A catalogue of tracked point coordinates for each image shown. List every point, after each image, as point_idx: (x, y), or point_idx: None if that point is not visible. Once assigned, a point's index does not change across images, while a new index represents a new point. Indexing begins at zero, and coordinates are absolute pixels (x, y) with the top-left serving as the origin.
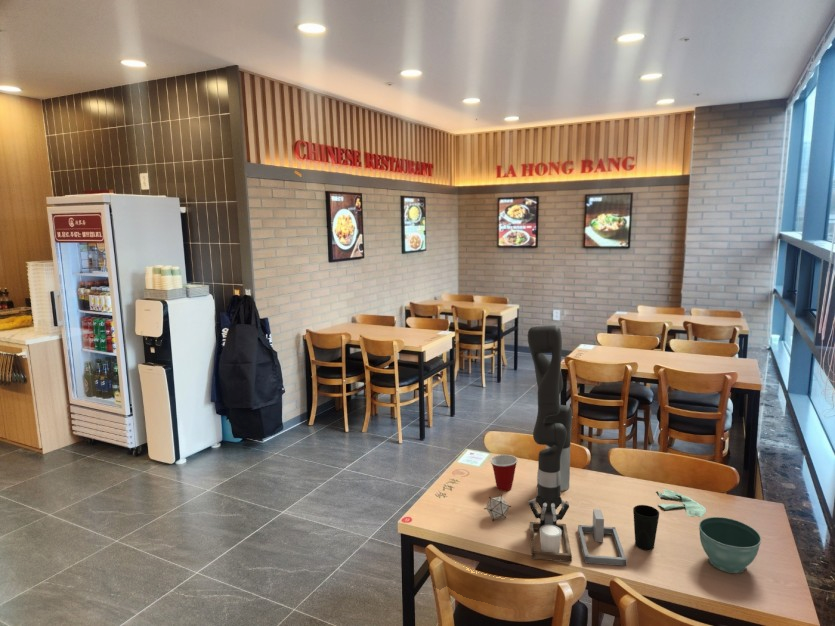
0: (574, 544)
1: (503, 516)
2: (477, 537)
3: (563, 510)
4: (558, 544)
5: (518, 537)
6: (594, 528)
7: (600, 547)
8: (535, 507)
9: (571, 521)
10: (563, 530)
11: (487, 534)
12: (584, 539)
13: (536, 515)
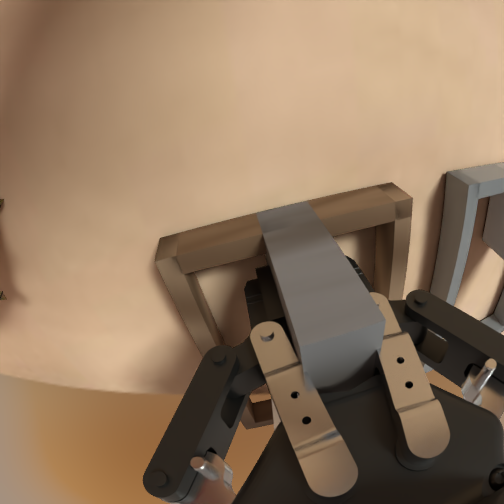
0: (407, 286)
1: (3, 298)
2: (23, 368)
3: (458, 380)
4: None
5: (143, 335)
6: None
7: (482, 264)
8: (214, 417)
9: (422, 69)
10: (386, 242)
11: (31, 348)
12: (455, 298)
13: (233, 400)
